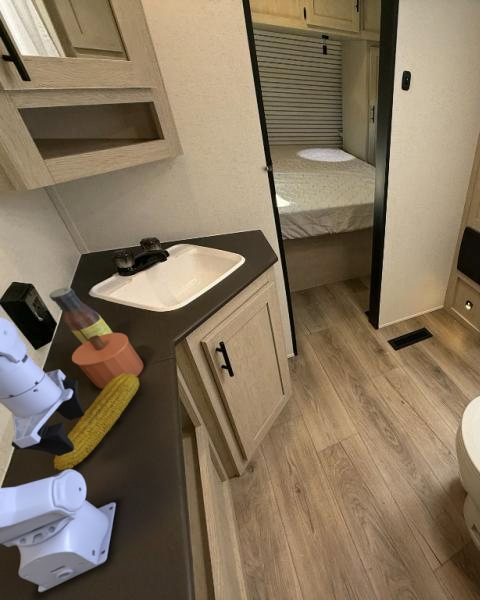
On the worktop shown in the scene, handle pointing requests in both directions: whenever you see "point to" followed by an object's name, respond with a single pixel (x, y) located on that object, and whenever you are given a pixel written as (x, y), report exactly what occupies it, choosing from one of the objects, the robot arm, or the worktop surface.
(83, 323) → the sauce bottle
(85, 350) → the pot lid
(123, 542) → the worktop surface
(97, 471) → the worktop surface
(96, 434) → the food
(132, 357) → the pot
